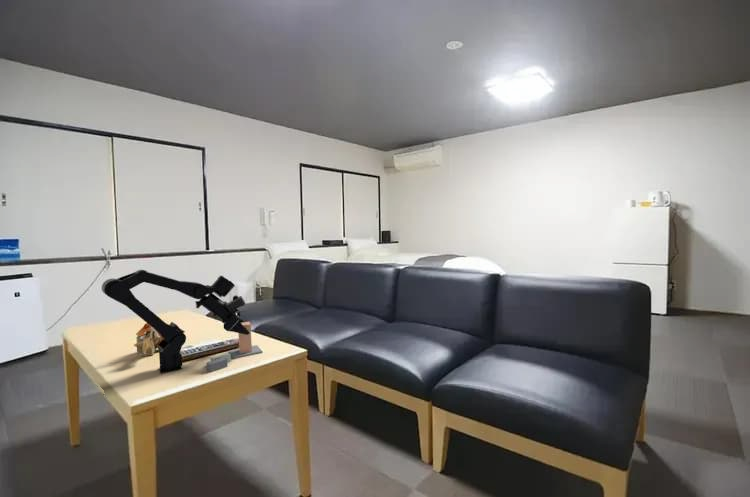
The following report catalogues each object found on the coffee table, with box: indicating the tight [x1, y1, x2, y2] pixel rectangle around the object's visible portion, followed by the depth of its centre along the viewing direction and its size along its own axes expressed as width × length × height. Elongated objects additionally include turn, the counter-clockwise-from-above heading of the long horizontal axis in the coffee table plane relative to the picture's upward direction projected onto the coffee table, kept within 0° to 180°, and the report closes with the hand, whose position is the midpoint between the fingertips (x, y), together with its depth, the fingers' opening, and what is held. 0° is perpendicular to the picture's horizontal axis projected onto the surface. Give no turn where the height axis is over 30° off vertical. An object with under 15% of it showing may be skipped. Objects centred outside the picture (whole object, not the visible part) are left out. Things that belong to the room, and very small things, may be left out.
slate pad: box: [228, 345, 263, 360], centre depth 141 cm, size 11×9×1 cm
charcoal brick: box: [205, 357, 229, 373], centre depth 125 cm, size 6×3×3 cm, turn 139°
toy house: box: [135, 322, 162, 357], centre depth 139 cm, size 8×21×14 cm, turn 19°
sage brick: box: [210, 352, 232, 364], centre depth 130 cm, size 6×3×3 cm, turn 135°
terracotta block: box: [237, 321, 253, 354], centre depth 140 cm, size 4×4×11 cm
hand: (248, 330), depth 141 cm, fingers open, 9 cm apart
